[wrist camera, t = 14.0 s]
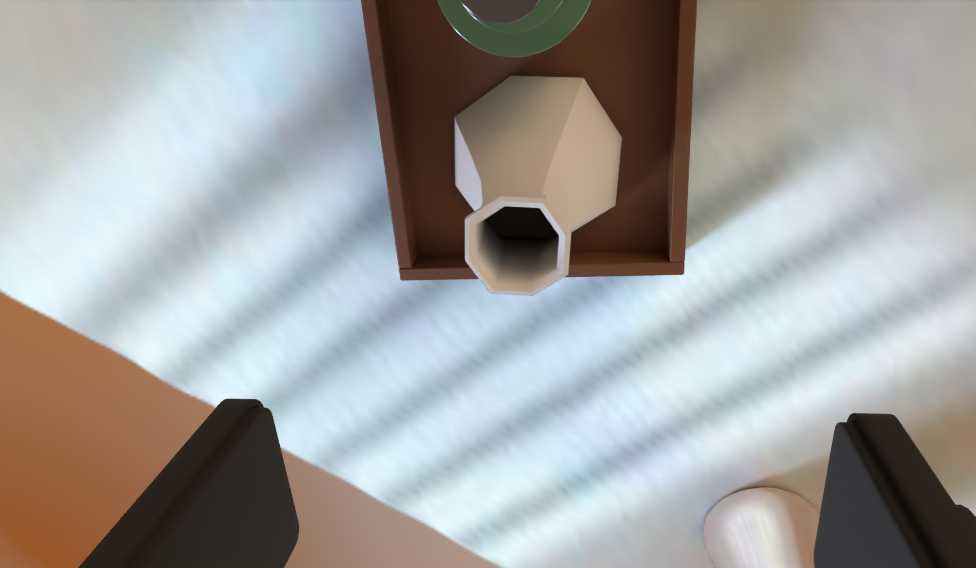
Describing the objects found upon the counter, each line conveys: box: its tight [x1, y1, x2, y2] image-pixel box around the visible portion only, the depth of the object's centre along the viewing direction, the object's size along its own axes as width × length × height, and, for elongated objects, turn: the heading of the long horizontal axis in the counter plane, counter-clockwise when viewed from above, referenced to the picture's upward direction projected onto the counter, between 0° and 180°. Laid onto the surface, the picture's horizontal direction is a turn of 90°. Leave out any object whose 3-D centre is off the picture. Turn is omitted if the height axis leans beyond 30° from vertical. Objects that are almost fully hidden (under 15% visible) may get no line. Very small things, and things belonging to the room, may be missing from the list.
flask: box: [454, 76, 622, 296], centre depth 24 cm, size 7×7×10 cm
